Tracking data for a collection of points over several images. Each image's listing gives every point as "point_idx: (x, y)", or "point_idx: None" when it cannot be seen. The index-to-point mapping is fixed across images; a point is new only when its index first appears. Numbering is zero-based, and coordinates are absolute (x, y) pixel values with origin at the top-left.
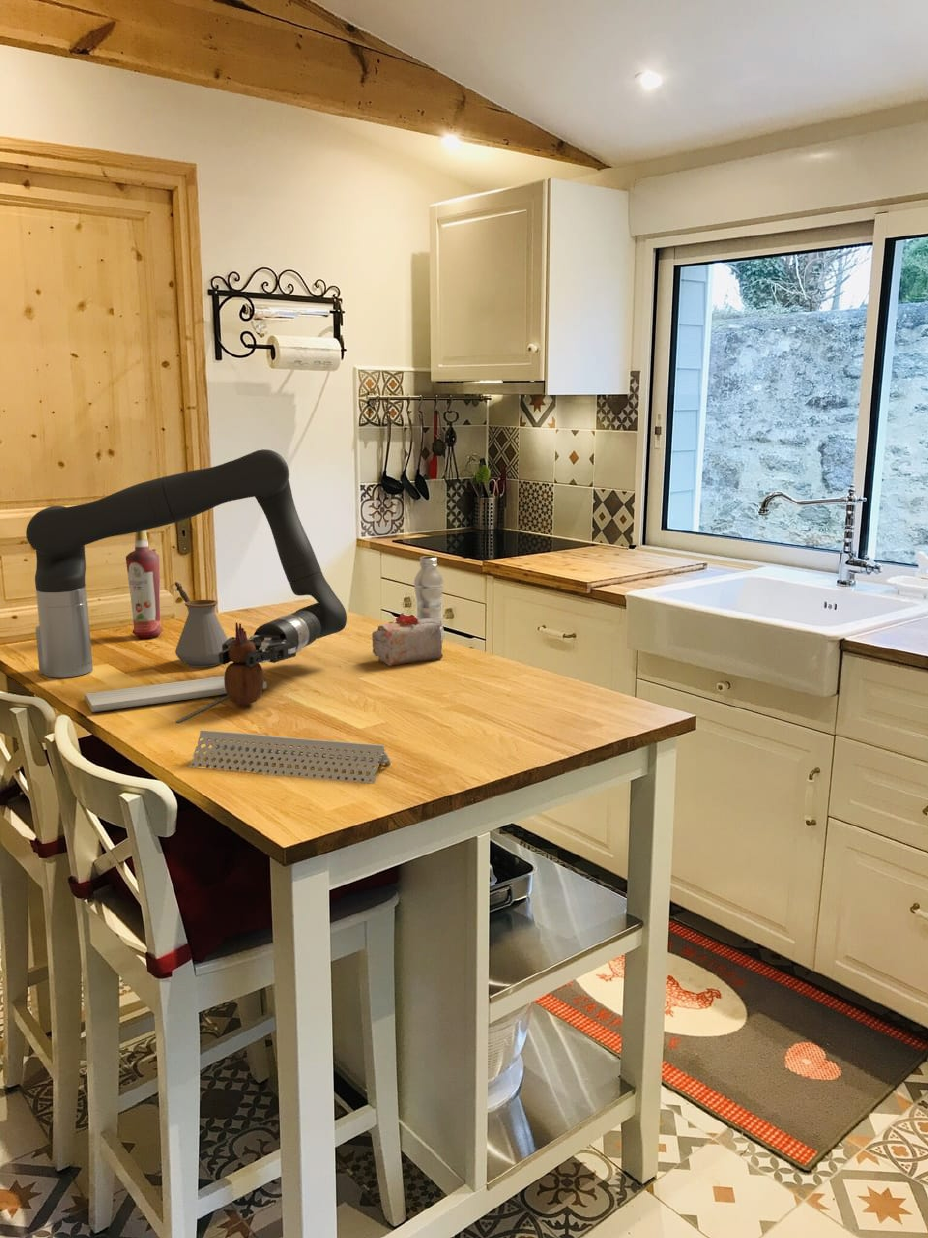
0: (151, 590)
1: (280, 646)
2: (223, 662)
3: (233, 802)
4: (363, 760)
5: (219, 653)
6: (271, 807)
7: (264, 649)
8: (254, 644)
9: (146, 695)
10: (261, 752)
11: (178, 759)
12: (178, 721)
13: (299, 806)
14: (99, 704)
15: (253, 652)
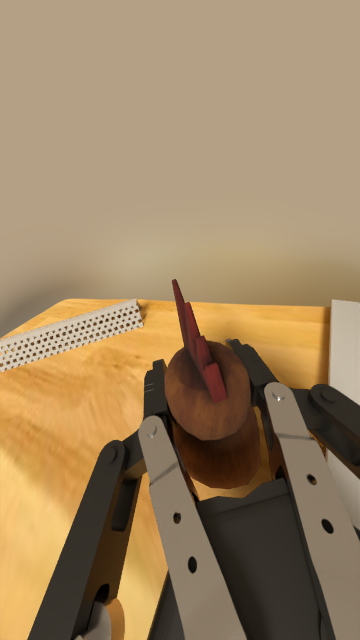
0: None
1: (88, 521)
2: None
3: (97, 301)
4: (16, 362)
5: (248, 346)
6: (77, 307)
7: (140, 425)
8: (175, 406)
9: (354, 346)
10: (103, 336)
11: (156, 307)
12: (227, 339)
13: (63, 313)
14: (332, 303)
15: (156, 380)
